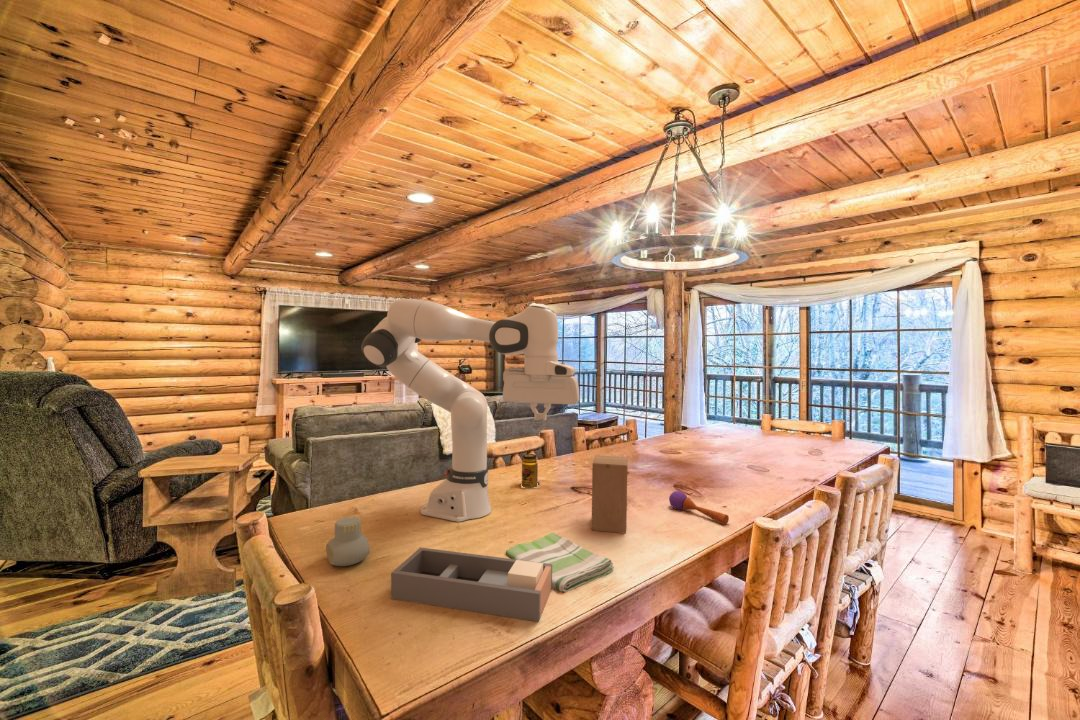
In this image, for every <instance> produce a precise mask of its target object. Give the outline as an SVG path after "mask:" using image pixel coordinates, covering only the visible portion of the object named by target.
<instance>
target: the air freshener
mask: <svg viewBox="0 0 1080 720" xmlns="http://www.w3.org/2000/svg"><path fill="white" fill-rule="evenodd" d="M361 527H362V522H361V519H360V518H359V517H357V516H348V517H343V518H339V519H338V520H336V521H335V523H334V537H333V538H331V539H330V540H329V541H328V542H327V544H326V547H325V553H326V556H327V557H326V558H327V559H328V562H329V564H330V565H334V566H336V567H349V566H353V565H355V564H358V563H359V562H361V561H363V560H364V559H365V558H367V557H368V555H369V554H370V551H371V550H370V548H371V547H370V543H369V539H368V537H366V535H365V534H362V532H361V531H362V529H361Z"/></svg>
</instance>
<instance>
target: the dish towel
mask: <svg viewBox="0 0 1080 720" xmlns="http://www.w3.org/2000/svg"><path fill="white" fill-rule="evenodd" d="M505 554H506V555H507V556H508V557H509V559H516V560H524V561H532V562H540V563H548V564H552V588H554V589H556V590H558V591H559V592H561V593H562V592H563V593H567V592H569V591H571V590H574V589H576V588H578V587H580V586H583V585H585V584H588V583H589V582H591V581H594V580H596V579H598V578H602V577H604V576H605V575H608V574H610V573H612V572H613V569H614V568H615V567H614V562H612V559H611V558H608V557H606V556H604V557H603V556H601V555H599V554H595V553H594V552H593V551H591V550H589V549H587V548H585V547H582V546H579V545H578V544H576V543H574V542H573V541H571V540H570V539H568V538H565V537H563V536H561V535H559V534H557V533H555V532H550V533H548V534H546V535H545V536H543V537H540V538H538V539H536V540H533V541H529V542H523V543H517V544H515V545H514V546H511V547H509V548H507V550H505Z"/></svg>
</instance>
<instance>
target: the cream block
mask: <svg viewBox="0 0 1080 720" xmlns="http://www.w3.org/2000/svg"><path fill="white" fill-rule="evenodd" d="M542 573H543V563H537V562H529V561H522V560H516V561H515V563H514V564H513V566H512V567H511V569H510V571H509V572H508V586H511V587H518V588H525V589H532V590H535V588H536V586H537V584H538V582H539V580H540V577H541V575H542Z"/></svg>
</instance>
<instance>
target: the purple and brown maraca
mask: <svg viewBox="0 0 1080 720" xmlns="http://www.w3.org/2000/svg"><path fill="white" fill-rule="evenodd" d="M668 501H669V504H670V506H671V507H672V508H673V509H675V510H681V511H682V510H684V511H692V510H697V511H698V512H699V513H701V514H703V515H704V516H707V517H709V518H710V519H712V520H713V521H715V522H717V523H718V524H720V525H723V526H725V525H727V524H728V523H729V521H730V520H729V514H725V513H722V512H718V511H715V510H711V509H708V508H704V507H701V506H697V504H695V503H694V501H693V500H692V499H691V498H690V497H687V494H685V493H684V492H682V491H680V490H675V491H673V492H672V493H670V495H669V497H668Z"/></svg>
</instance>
